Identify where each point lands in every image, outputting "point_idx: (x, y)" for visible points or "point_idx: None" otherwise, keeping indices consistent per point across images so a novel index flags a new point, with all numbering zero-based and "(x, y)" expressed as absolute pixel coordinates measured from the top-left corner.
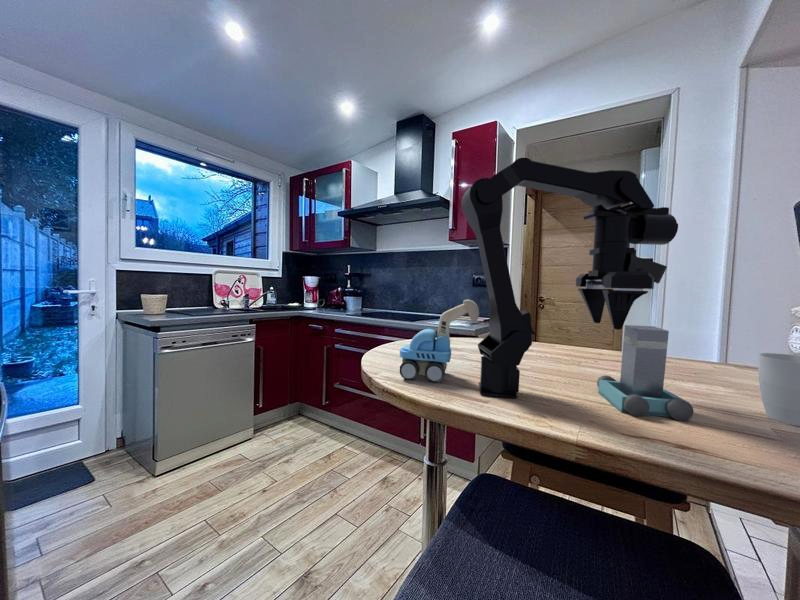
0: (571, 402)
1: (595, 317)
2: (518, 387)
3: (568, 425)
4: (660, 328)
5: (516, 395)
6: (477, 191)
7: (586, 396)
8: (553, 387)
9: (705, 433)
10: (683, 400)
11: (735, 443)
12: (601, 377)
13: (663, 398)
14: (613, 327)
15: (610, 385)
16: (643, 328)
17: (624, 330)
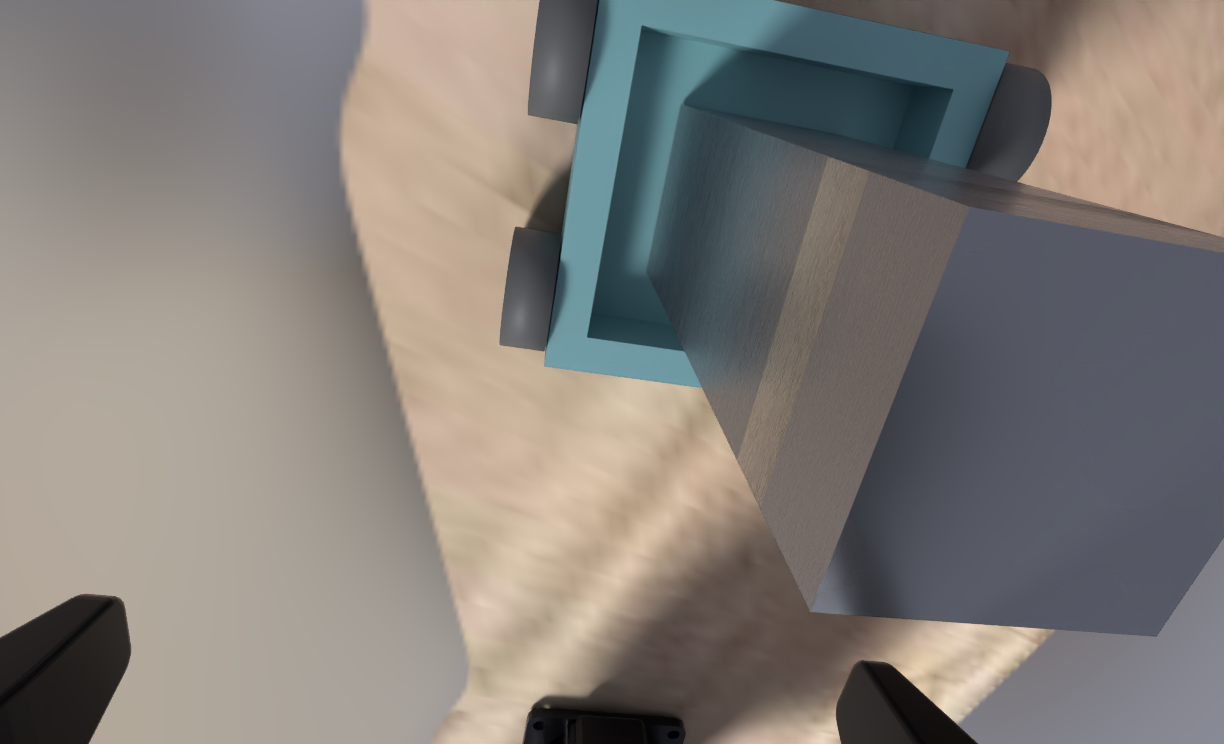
0: (710, 532)
1: (66, 733)
2: (644, 739)
3: (937, 627)
4: (1190, 248)
5: (680, 729)
6: None
7: (617, 426)
8: (484, 531)
9: (1107, 123)
10: (1034, 123)
11: (1219, 64)
12: (515, 340)
13: (785, 58)
14: (847, 735)
15: (671, 361)
16: (1119, 528)
17: (786, 553)
